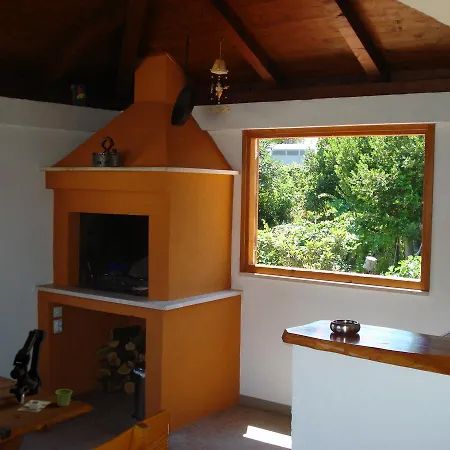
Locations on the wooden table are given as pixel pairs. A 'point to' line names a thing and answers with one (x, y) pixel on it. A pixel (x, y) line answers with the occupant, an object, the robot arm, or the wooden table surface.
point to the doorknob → (22, 399)
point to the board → (26, 408)
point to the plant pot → (63, 397)
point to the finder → (35, 405)
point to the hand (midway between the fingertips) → (21, 401)
